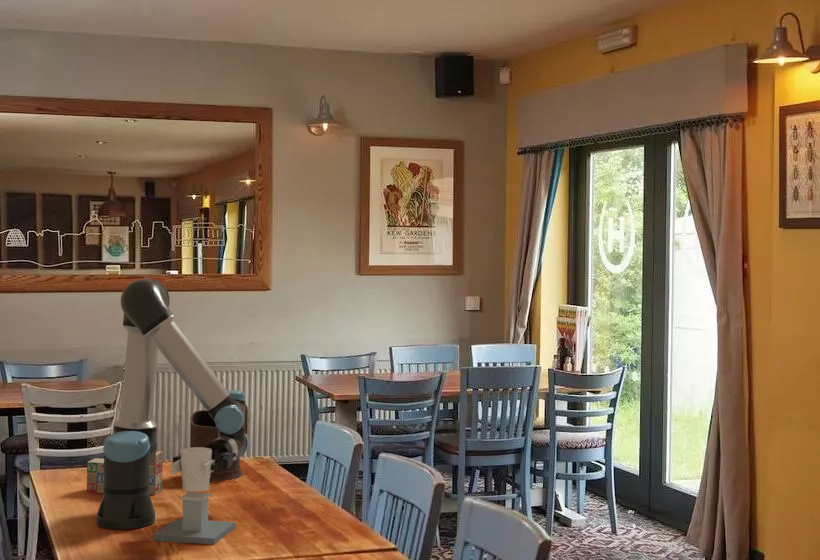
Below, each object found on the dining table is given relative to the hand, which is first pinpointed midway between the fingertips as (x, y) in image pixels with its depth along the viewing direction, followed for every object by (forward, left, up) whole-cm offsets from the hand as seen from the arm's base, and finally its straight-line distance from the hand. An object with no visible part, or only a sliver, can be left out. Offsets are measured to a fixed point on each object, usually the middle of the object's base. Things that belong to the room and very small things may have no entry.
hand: (189, 469), depth 259 cm
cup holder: (-17, +72, -18) cm, 76 cm away
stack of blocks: (-38, +46, -18) cm, 62 cm away
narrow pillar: (0, +5, -18) cm, 18 cm away
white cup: (0, +5, -6) cm, 8 cm away
